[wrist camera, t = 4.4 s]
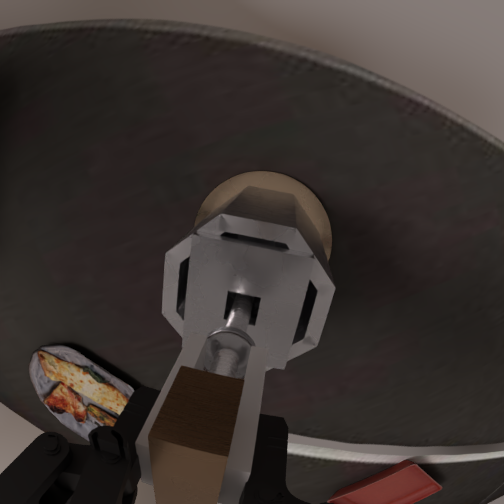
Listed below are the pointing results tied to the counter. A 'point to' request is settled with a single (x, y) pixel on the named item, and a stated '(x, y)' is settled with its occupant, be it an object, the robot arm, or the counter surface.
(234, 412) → the plunger
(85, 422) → the food plate
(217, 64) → the counter surface
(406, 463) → the plant saucer
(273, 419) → the robot arm
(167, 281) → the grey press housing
